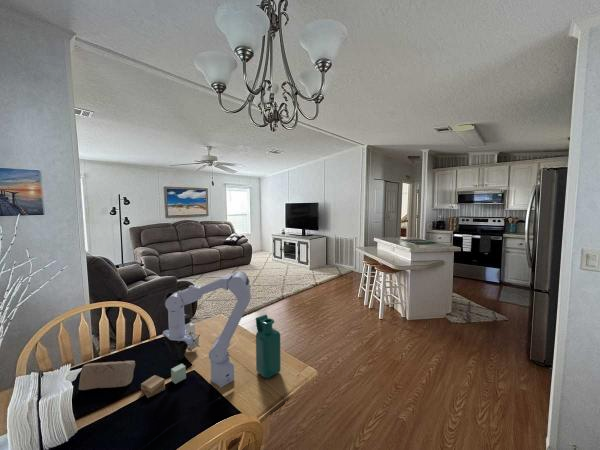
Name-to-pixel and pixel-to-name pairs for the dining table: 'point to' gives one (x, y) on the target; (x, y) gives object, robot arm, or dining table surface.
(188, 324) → the medicine bottle
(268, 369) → the green bottle
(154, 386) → the slab upper
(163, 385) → the slab lower
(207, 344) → the dining table surface
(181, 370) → the sage block
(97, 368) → the brick
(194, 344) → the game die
